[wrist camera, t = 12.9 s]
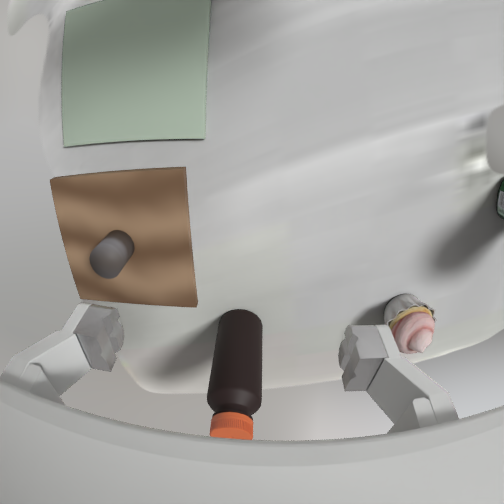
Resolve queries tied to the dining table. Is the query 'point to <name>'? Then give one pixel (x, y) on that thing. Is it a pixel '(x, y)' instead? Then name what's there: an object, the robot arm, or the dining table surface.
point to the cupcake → (410, 323)
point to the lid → (128, 235)
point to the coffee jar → (501, 201)
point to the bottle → (236, 375)
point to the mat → (135, 71)
